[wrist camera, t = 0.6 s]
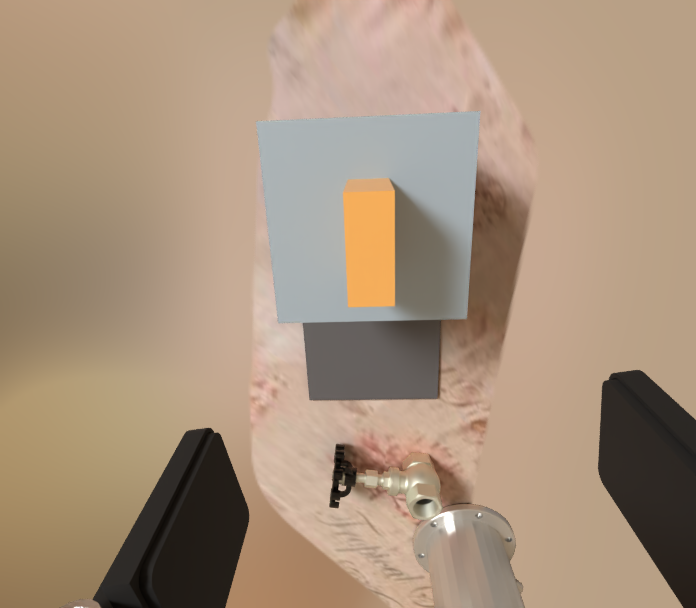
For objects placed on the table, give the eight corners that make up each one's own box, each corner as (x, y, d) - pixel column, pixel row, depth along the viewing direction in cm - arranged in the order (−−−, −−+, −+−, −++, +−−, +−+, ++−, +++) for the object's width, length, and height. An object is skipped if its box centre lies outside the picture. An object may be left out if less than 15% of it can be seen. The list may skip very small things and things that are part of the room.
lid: (460, 306, 32) (489, 362, 24) (283, 310, 32) (258, 366, 25) (471, 112, 27) (513, 105, 19) (264, 122, 28) (225, 118, 20)
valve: (440, 442, 50) (337, 431, 50) (451, 486, 44) (333, 473, 44) (430, 486, 53) (332, 475, 53) (439, 533, 47) (327, 521, 47)
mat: (436, 396, 48) (437, 398, 48) (310, 398, 49) (309, 400, 48) (441, 274, 43) (442, 276, 42) (299, 278, 43) (299, 279, 43)
